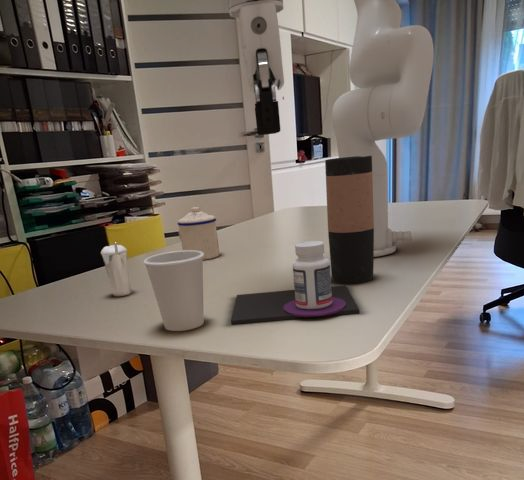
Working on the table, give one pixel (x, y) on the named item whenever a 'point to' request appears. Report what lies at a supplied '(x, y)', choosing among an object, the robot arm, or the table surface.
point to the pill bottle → (312, 276)
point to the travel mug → (350, 218)
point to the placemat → (288, 306)
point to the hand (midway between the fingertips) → (268, 133)
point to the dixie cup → (178, 288)
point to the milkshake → (117, 269)
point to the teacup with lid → (199, 233)
